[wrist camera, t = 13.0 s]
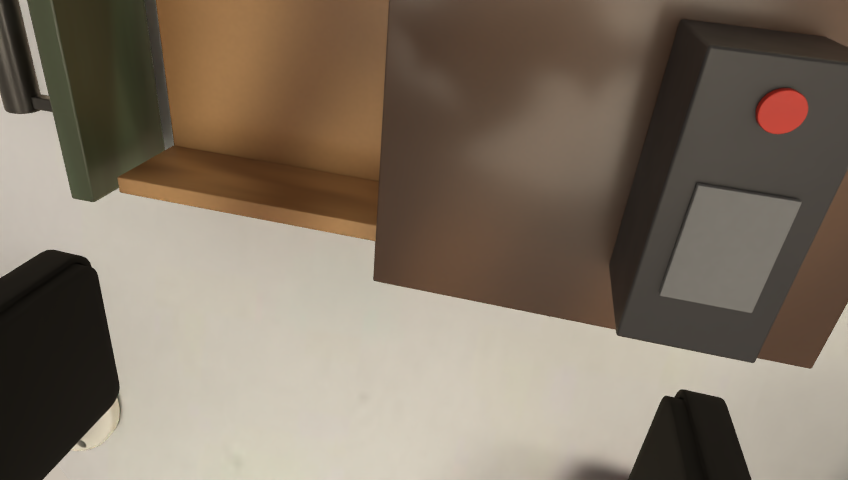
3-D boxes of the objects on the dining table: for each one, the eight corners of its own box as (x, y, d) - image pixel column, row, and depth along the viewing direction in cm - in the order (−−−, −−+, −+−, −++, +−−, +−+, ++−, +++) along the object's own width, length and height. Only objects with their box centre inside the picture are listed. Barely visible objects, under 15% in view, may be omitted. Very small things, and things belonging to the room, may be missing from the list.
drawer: (77, 143, 33) (-9, 183, 28) (18, -134, 27) (-108, -146, 22) (435, 208, 30) (408, 264, 25) (468, -87, 24) (440, -89, 19)
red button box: (608, 266, 22) (616, 341, 18) (679, 18, 18) (710, 46, 14) (723, 287, 22) (757, 369, 18) (827, 36, 17) (902, 71, 13)
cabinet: (413, 206, 32) (372, 281, 25) (442, -107, 24) (394, -116, 18) (757, 269, 29) (811, 369, 23) (902, -61, 22) (1043, -52, 15)
